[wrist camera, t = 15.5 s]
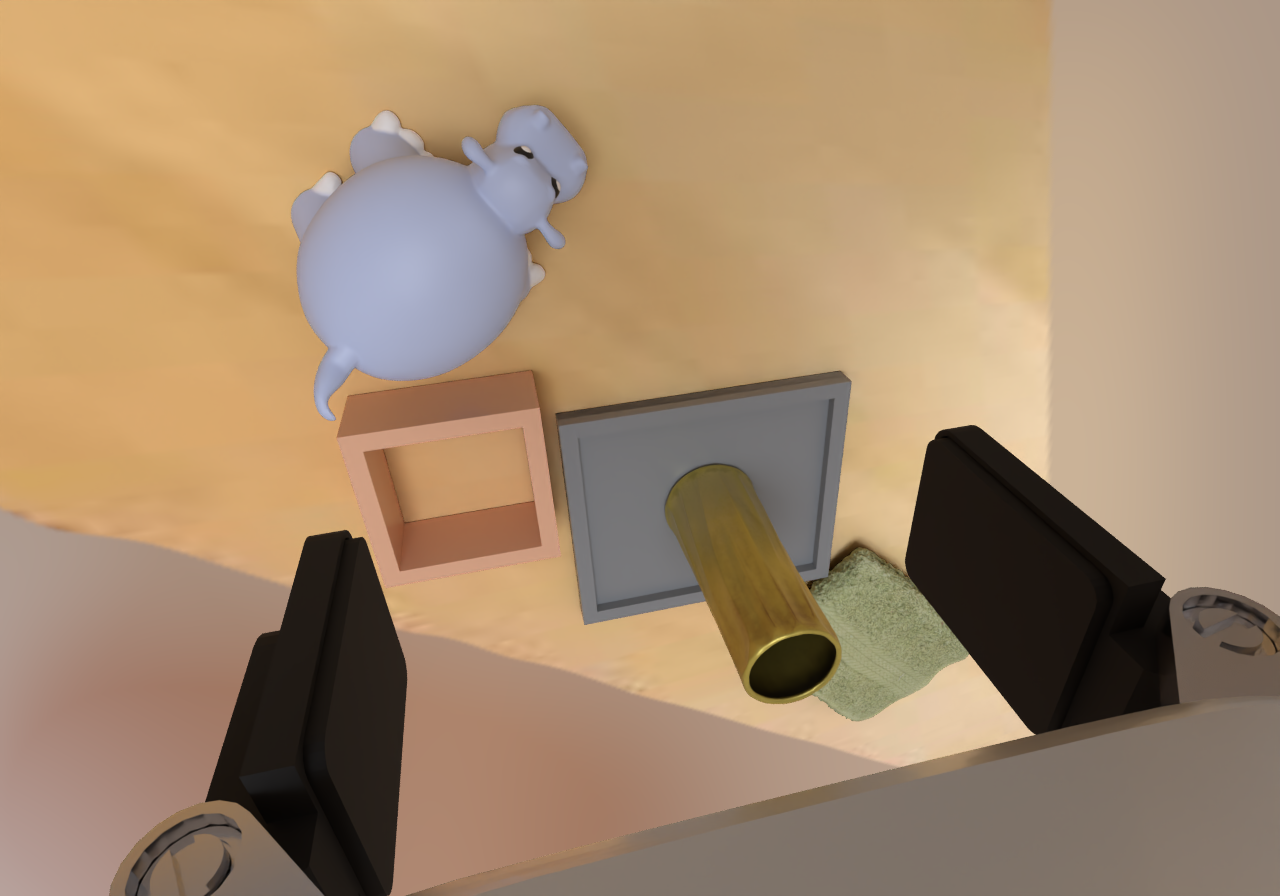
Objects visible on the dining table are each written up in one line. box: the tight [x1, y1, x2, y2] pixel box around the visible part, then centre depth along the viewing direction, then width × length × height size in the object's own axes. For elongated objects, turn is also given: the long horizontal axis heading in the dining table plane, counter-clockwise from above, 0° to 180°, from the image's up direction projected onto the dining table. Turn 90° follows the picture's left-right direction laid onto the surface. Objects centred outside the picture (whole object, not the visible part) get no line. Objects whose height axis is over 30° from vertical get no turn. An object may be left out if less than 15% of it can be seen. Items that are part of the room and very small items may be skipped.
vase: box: [665, 464, 842, 704], centre depth 41 cm, size 6×6×14 cm
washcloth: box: [810, 547, 969, 721], centre depth 57 cm, size 13×18×3 cm
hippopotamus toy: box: [291, 105, 588, 421], centre depth 32 cm, size 11×15×10 cm
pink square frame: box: [337, 370, 561, 588], centre depth 41 cm, size 10×10×4 cm
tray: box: [556, 371, 852, 625], centre depth 47 cm, size 18×16×2 cm
